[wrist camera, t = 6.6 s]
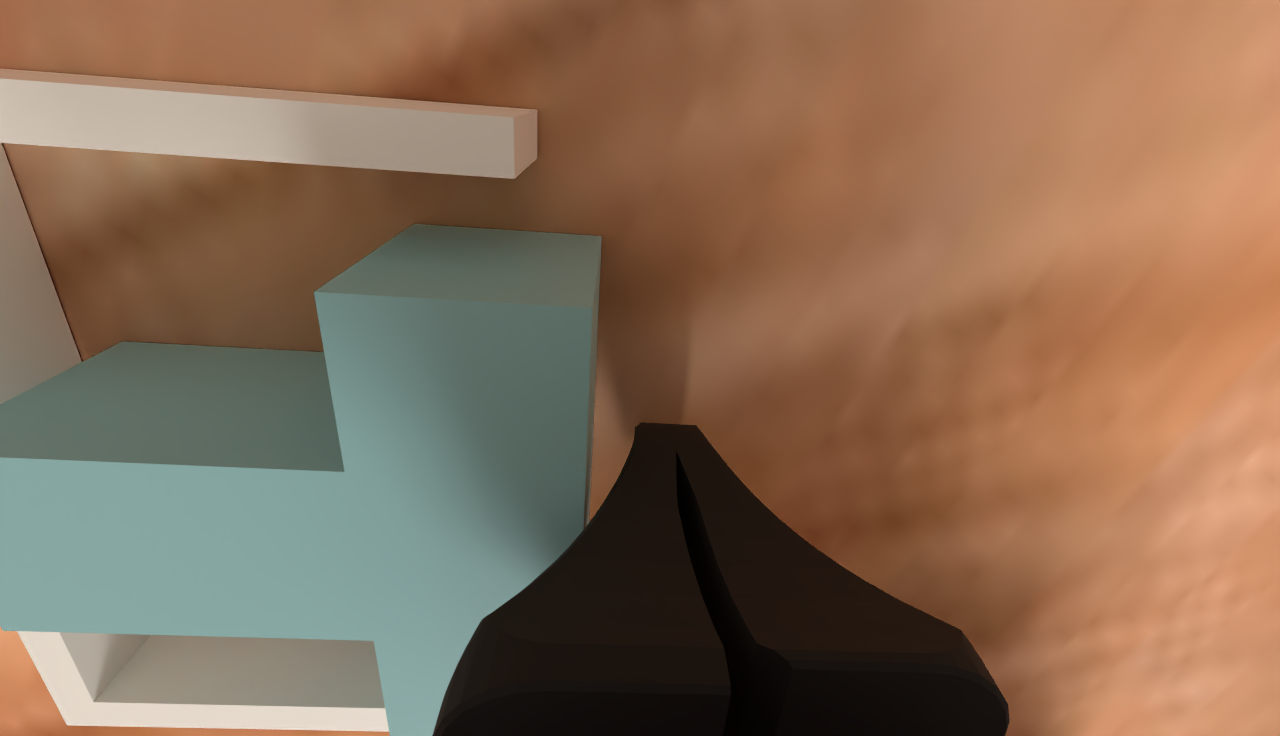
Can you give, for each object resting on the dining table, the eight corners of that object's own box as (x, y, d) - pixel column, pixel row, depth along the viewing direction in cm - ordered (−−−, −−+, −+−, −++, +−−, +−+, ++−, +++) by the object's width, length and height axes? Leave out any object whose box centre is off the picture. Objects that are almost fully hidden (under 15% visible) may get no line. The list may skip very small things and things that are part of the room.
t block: (601, 236, 11) (591, 308, 8) (586, 587, 15) (575, 745, 12) (76, 200, 11) (-199, 261, 7) (198, 575, 15) (60, 736, 11)
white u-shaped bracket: (536, 109, 10) (513, 117, 8) (538, 641, 16) (524, 734, 14) (-79, 62, 10) (-289, 56, 7) (148, 631, 15) (67, 725, 13)
